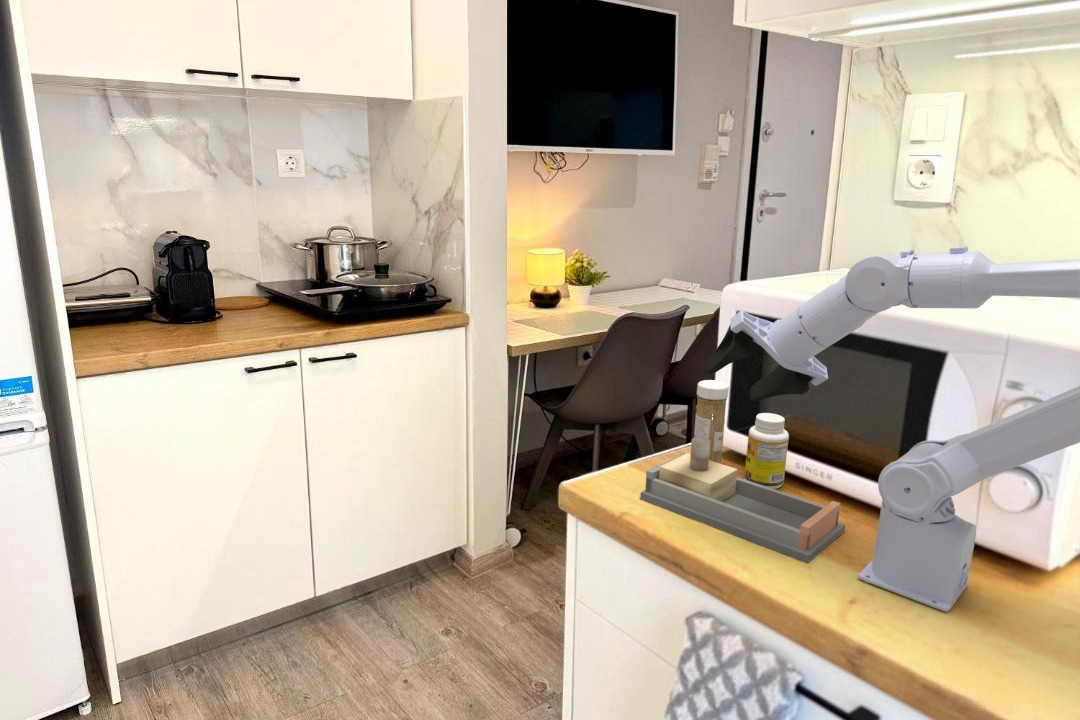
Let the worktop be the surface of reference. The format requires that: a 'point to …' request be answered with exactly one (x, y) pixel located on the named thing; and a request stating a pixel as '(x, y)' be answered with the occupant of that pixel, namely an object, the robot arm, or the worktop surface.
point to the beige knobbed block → (700, 472)
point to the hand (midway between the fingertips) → (730, 381)
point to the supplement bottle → (767, 451)
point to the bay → (754, 515)
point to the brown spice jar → (710, 403)
